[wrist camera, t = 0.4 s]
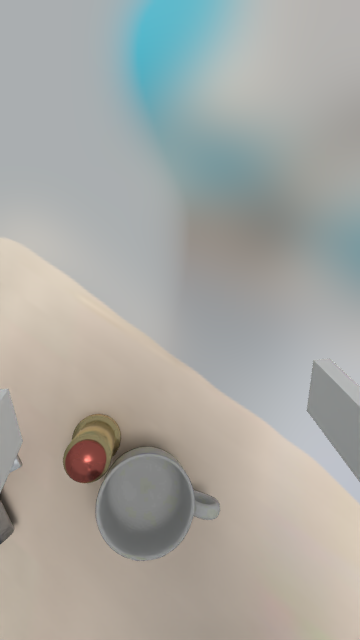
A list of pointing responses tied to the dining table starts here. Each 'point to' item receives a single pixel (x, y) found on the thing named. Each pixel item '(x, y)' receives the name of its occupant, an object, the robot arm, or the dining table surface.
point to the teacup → (149, 504)
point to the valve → (91, 448)
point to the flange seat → (3, 527)
